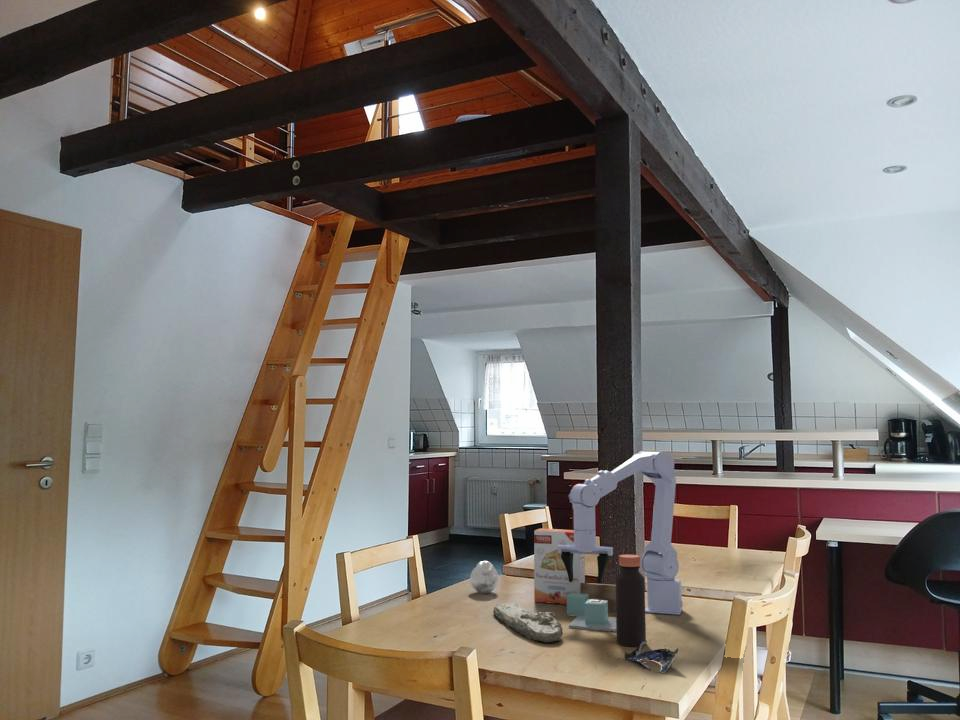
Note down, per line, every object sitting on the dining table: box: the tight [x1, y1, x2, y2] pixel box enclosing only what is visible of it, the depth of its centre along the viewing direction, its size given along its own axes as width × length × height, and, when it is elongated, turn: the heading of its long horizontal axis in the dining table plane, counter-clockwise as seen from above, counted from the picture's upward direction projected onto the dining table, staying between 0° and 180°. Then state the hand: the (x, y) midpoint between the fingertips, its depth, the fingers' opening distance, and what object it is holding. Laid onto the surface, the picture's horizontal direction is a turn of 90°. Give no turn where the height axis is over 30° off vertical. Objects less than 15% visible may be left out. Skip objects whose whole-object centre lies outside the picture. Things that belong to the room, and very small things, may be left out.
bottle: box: [614, 553, 647, 648], centre depth 175 cm, size 7×7×20 cm
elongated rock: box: [492, 602, 564, 643], centre depth 190 cm, size 35×5×10 cm
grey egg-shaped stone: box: [469, 560, 500, 594], centre depth 231 cm, size 9×10×10 cm
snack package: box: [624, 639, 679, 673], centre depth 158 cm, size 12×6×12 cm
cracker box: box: [533, 528, 586, 606], centre depth 218 cm, size 14×6×21 cm, turn 68°
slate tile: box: [568, 615, 616, 633], centre depth 192 cm, size 12×12×1 cm
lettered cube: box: [585, 599, 609, 625], centre depth 192 cm, size 5×5×5 cm
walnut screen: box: [580, 582, 616, 613], centre depth 208 cm, size 13×4×7 cm, turn 70°
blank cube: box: [566, 593, 589, 617], centre depth 204 cm, size 5×5×5 cm
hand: (585, 582), depth 196 cm, fingers open, 7 cm apart
